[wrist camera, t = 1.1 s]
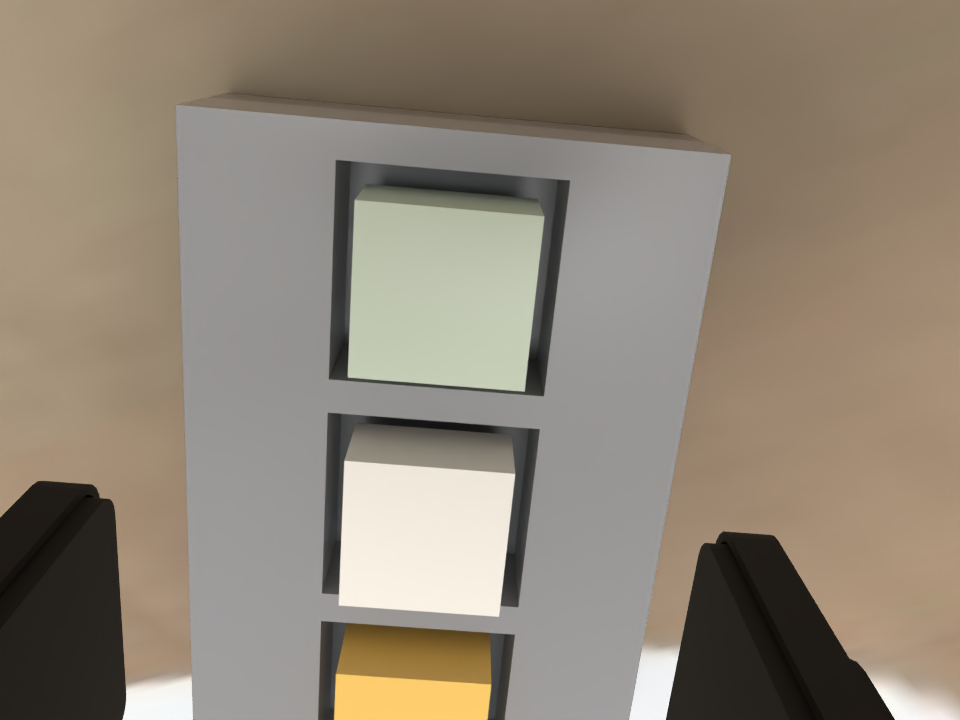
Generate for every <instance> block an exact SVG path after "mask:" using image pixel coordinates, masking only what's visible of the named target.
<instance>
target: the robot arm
mask: <svg viewBox="0 0 960 720" xmlns="http://www.w3.org/2000/svg"><path fill="white" fill-rule="evenodd" d="M125 704H126V685H125V668H124V652H123V635H122V619H121V602H120V586H119V570H118V553H117V537H116V520H115V509H114V505H113V503H112V501H111V500H110V499H103V498H100V497H99V493H98V491H97V488H96V487H95V486H93V485H91V484H77V483H64V482H50V481H38V482H36V483H35V484H34V485H32V486H31V487H30V488H29V489H28V490H27V491H26V492H25V493H24V494H23V495H22V496H21V497H20V498H19V499H18V500H17V501H16V502H15V503H14V504H13V505H12V506H11V507H10V508H9V509H8V510H7V511H6V512H5V513H4V514H3V515H2V516H1V517H0V720H122V719H123V715H124V711H125ZM666 720H895V719H894V717H893V716H892V714H891V713H890V711H889V709H888V708H887V706H886V704H885V703H884V701H883V700H882V698H881V696H880V695H879V693H878V691H877V690H876V688H875V687H874V685H873V683H872V682H871V680H870V678H869V677H868V675H867V674H866V672H865V671H864V670H863V669H862V667H861V666H860V665H859V664H858V663H857V662H856V661H853V660H851V659H849V657H848V656H847V654H846V652H845V651H844V649H843V647H842V646H841V644H840V642H839V641H838V639H837V637H836V636H835V634H834V632H833V631H832V629H831V627H830V626H829V624H828V622H827V621H826V619H825V617H824V616H823V614H822V613H821V611H820V609H819V608H818V606H817V604H816V603H815V601H814V599H813V598H812V596H811V594H810V593H809V591H808V589H807V588H806V586H805V584H804V583H803V581H802V579H801V578H800V576H799V574H798V573H797V571H796V569H795V568H794V566H793V564H792V563H791V561H790V559H789V558H788V556H787V554H786V553H785V551H784V550H783V548H782V546H781V545H780V543H779V541H778V540H777V539H776V538H775V537H774V536H772V535H763V534H750V533H736V532H722V533H721V534H720V535H719V537H718V539H717V541H716V544H712V543H704V544H703V545H702V547H701V549H700V552H699V556H698V561H697V566H696V571H695V576H694V581H693V586H692V591H691V596H690V601H689V606H688V611H687V616H686V621H685V626H684V631H683V636H682V641H681V646H680V651H679V656H678V662H677V667H676V672H675V677H674V682H673V687H672V692H671V697H670V702H669V707H668V712H667V717H666Z"/></svg>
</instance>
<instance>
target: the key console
mask: <svg viewBox="0 0 960 720" xmlns="http://www.w3.org/2000/svg"><path fill="white" fill-rule="evenodd" d="M176 135H177V170H178V205H179V241H180V276H181V311H182V346H183V381H184V416H185V451H186V487H187V522H188V557H189V592H190V627H191V662H192V697H193V720H334V710H335V685H336V671H337V667H338V662H339V658H340V653H341V649H342V644H343V639H344V635H345V630H346V626H347V623H357V624H371V625H385V626H400V627H414V628H428V629H443V630H457V631H471V632H485V633H490V651H491V692H490V701H489V710H488V719H487V720H629V717H630V711H631V706H632V700H633V695H634V689H635V684H636V678H637V672H638V667H639V661H640V656H641V650H642V645H643V639H644V634H645V628H646V623H647V617H648V612H649V606H650V601H651V595H652V590H653V584H654V579H655V573H656V568H657V562H658V557H659V551H660V546H661V540H662V535H663V529H664V524H665V518H666V513H667V507H668V502H669V496H670V491H671V485H672V480H673V474H674V469H675V463H676V458H677V452H678V447H679V441H680V436H681V430H682V425H683V419H684V414H685V408H686V403H687V397H688V392H689V386H690V381H691V375H692V370H693V364H694V359H695V353H696V348H697V342H698V337H699V331H700V326H701V320H702V315H703V309H704V304H705V298H706V293H707V287H708V282H709V276H710V271H711V265H712V260H713V254H714V249H715V243H716V238H717V232H718V227H719V221H720V216H721V210H722V205H723V199H724V194H725V188H726V182H727V177H728V171H729V166H730V160H731V154H729V153H726V152H724V151H722V150H720V149H718V148H715V147H713V146H711V145H709V144H707V143H704V142H702V141H700V140H698V139H696V138H693V137H691V136H689V135H685V134H674V133H663V132H652V131H641V130H630V129H619V128H608V127H597V126H586V125H575V124H564V123H553V122H541V121H530V120H519V119H508V118H497V117H486V116H475V115H464V114H453V113H442V112H431V111H420V110H409V109H398V108H387V107H376V106H365V105H354V104H343V103H332V102H321V101H310V100H299V99H287V98H276V97H265V96H254V95H243V94H232V93H227V94H222V95H218V96H213V97H209V98H204V99H200V100H195V101H191V102H186V103H182V104H177V105H176ZM366 184H373V185H385V186H396V187H408V188H419V189H431V190H442V191H454V192H465V193H476V194H488V195H499V196H511V197H522V198H534V199H538V201H539V204H540V206H541V209H542V211H543V214H544V225H543V234H542V242H541V251H540V260H539V269H538V278H537V287H536V295H535V304H534V313H533V322H532V331H531V339H530V348H529V357H528V366H527V375H526V384H525V392H523V391H511V390H498V389H486V388H473V387H460V386H448V385H435V384H423V383H410V382H398V381H385V380H373V379H360V378H348V356H349V331H350V305H351V280H352V255H353V229H354V204H355V199H356V197H357V196H358V195H359V193H360V192H361V191H362V189H363V188H364V187H365V185H366ZM356 423H366V424H379V425H392V426H405V427H418V428H431V429H443V430H456V431H469V432H482V433H495V434H508V435H512V444H513V455H514V466H515V481H514V489H513V498H512V507H511V516H510V525H509V533H508V542H507V551H506V560H505V569H504V578H503V586H502V595H501V604H500V613H499V617H495V616H480V615H466V614H452V613H438V612H424V611H410V610H396V609H381V608H367V607H353V606H339V584H340V558H341V533H342V508H343V483H344V460H345V457H346V454H347V451H348V447H349V444H350V441H351V438H352V434H353V431H354V428H355V425H356Z"/></svg>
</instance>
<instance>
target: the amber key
mask: <svg viewBox="0 0 960 720" xmlns="http://www.w3.org/2000/svg"><path fill="white" fill-rule="evenodd" d="M490 692H491V651H490V633H485V632H471V631H457V630H443V629H428V628H414V627H400V626H385V625H371V624H357V623H347V626H346V630H345V635H344V639H343V644H342V649H341V653H340V658H339V662H338V667H337V671H336V685H335V710H334V720H487V719H488V710H489V701H490Z"/></svg>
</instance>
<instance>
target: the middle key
mask: <svg viewBox="0 0 960 720" xmlns="http://www.w3.org/2000/svg"><path fill="white" fill-rule="evenodd" d="M514 481H515V466H514V455H513V444H512V435H508V434H495V433H482V432H469V431H456V430H443V429H431V428H418V427H405V426H392V425H379V424H366V423H356V425H355V428H354V431H353V434H352V438H351V441H350V444H349V447H348V451H347V454H346V457H345V460H344V483H343V508H342V533H341V558H340V584H339V606H353V607H367V608H381V609H396V610H410V611H424V612H438V613H452V614H466V615H480V616H495V617H499V613H500V604H501V595H502V586H503V578H504V569H505V560H506V551H507V542H508V533H509V525H510V516H511V507H512V498H513V489H514Z"/></svg>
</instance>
